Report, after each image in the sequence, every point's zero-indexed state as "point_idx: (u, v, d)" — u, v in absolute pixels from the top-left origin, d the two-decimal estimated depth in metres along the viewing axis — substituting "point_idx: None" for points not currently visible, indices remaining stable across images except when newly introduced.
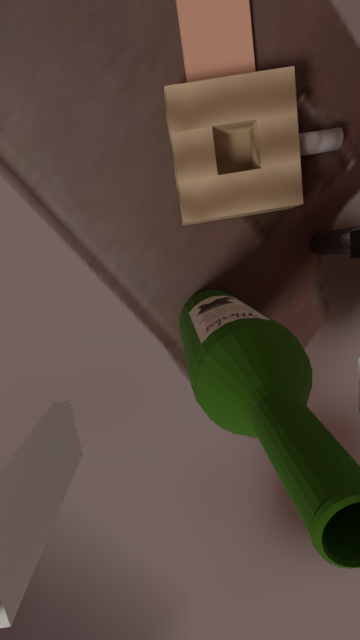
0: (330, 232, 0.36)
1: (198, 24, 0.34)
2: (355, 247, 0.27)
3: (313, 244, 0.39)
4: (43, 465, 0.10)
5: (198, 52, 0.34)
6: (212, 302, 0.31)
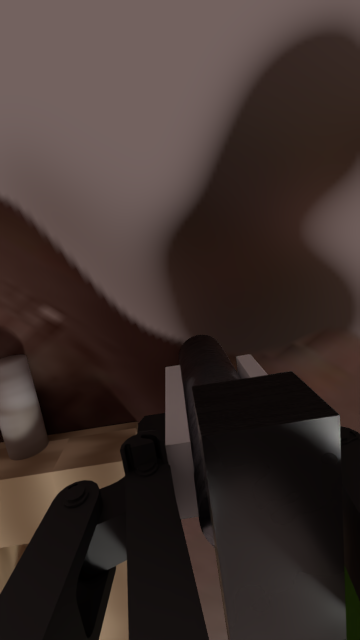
0: None
1: None
2: None
3: None
4: None
5: None
6: None
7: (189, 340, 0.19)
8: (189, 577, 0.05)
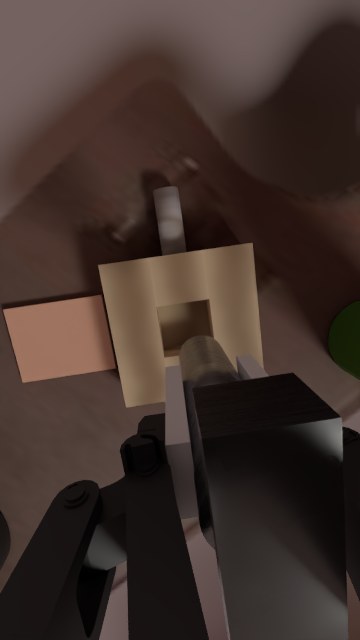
0: None
1: (55, 358, 0.32)
2: None
3: None
4: None
5: (80, 358, 0.32)
6: None
7: (189, 340, 0.19)
8: (189, 577, 0.05)
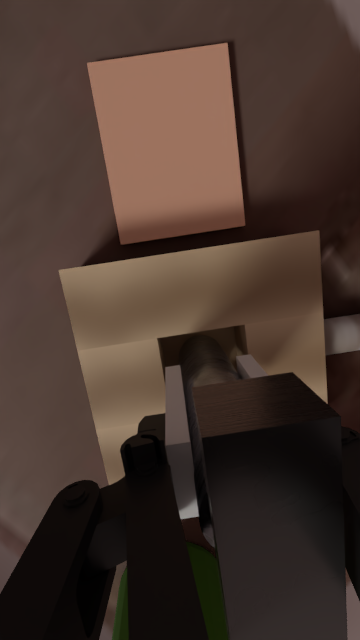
0: None
1: (136, 134, 0.18)
2: None
3: None
4: None
5: (138, 183, 0.18)
6: None
7: (189, 340, 0.19)
8: (189, 577, 0.05)
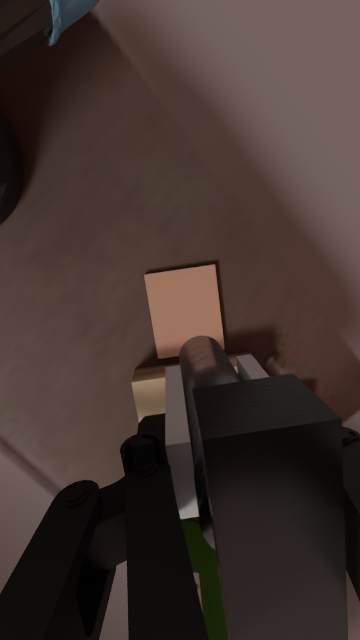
0: None
1: (167, 306, 0.34)
2: None
3: None
4: None
5: (168, 329, 0.35)
6: None
7: (189, 341, 0.19)
8: (189, 577, 0.05)
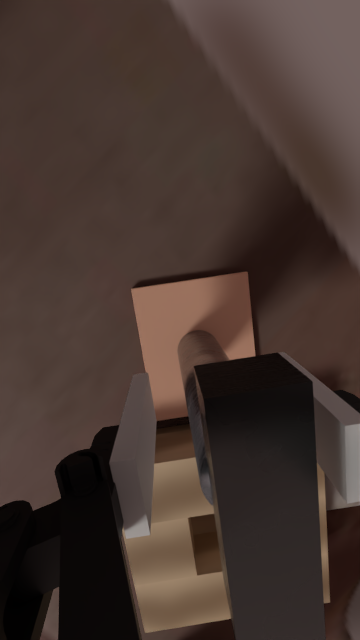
0: None
1: (170, 339, 0.21)
2: None
3: None
4: (146, 420, 0.12)
5: (170, 375, 0.22)
6: None
7: (187, 335, 0.21)
8: (126, 598, 0.05)
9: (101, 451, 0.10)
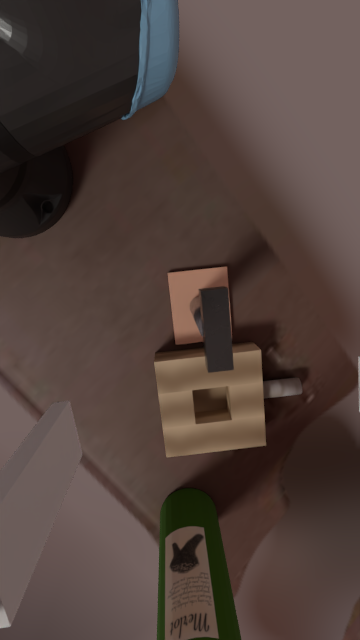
0: None
1: (186, 300, 0.41)
2: None
3: None
4: (43, 465, 0.10)
5: (185, 319, 0.41)
6: (183, 549, 0.37)
7: (195, 297, 0.40)
8: None
9: None
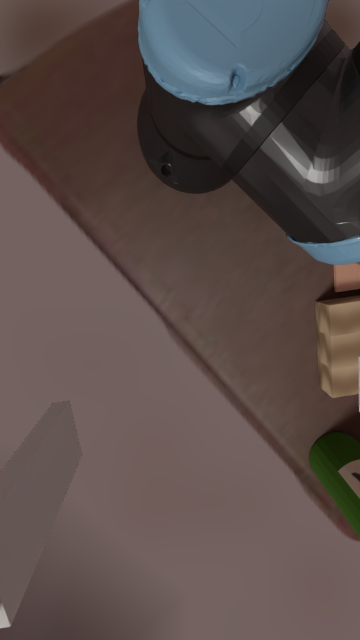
0: None
1: None
2: None
3: None
4: (43, 465, 0.10)
5: (347, 267, 0.44)
6: None
7: None
8: None
9: None
